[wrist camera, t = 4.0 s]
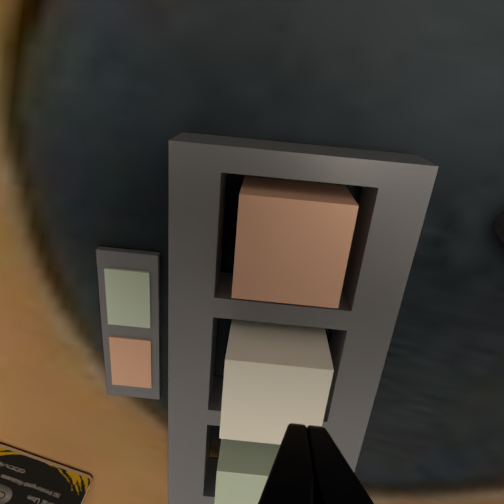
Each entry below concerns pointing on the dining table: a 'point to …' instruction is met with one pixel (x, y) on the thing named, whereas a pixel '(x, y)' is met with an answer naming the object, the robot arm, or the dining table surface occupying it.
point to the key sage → (243, 471)
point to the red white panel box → (499, 227)
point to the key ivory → (273, 380)
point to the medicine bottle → (38, 480)
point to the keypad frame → (223, 306)
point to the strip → (130, 320)
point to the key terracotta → (292, 241)
